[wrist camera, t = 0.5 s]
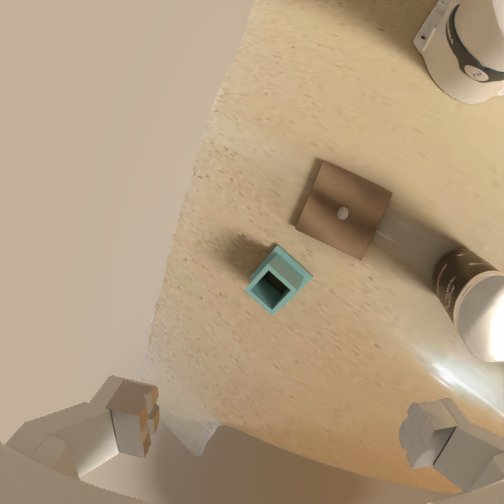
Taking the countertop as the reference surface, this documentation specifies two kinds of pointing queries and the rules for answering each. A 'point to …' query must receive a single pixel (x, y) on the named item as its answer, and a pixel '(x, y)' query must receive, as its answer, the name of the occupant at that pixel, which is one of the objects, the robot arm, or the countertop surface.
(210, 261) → the countertop surface
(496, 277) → the black white cylinder
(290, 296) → the flanged sleeve
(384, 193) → the walnut post base
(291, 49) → the countertop surface
